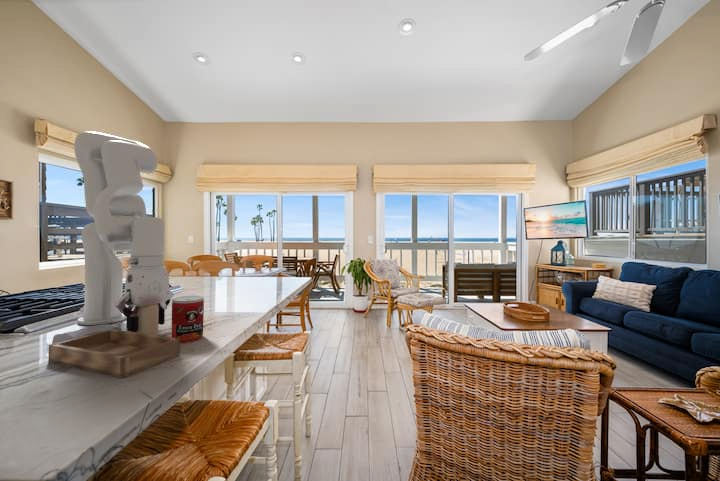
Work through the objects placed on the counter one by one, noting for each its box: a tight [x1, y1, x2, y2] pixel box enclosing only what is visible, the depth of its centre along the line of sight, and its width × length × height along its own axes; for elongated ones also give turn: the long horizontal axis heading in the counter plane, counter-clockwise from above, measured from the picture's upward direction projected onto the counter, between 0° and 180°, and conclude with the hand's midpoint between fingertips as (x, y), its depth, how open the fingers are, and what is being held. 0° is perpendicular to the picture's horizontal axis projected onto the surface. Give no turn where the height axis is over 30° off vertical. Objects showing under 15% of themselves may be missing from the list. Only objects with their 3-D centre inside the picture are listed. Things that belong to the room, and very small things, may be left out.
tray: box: [48, 329, 181, 379], centre depth 71 cm, size 22×13×4 cm, turn 73°
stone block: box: [52, 323, 123, 344], centre depth 82 cm, size 12×5×10 cm
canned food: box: [170, 295, 205, 344], centre depth 87 cm, size 8×8×11 cm
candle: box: [135, 304, 159, 336], centre depth 87 cm, size 6×6×10 cm
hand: (146, 327), depth 87 cm, fingers open, 7 cm apart
